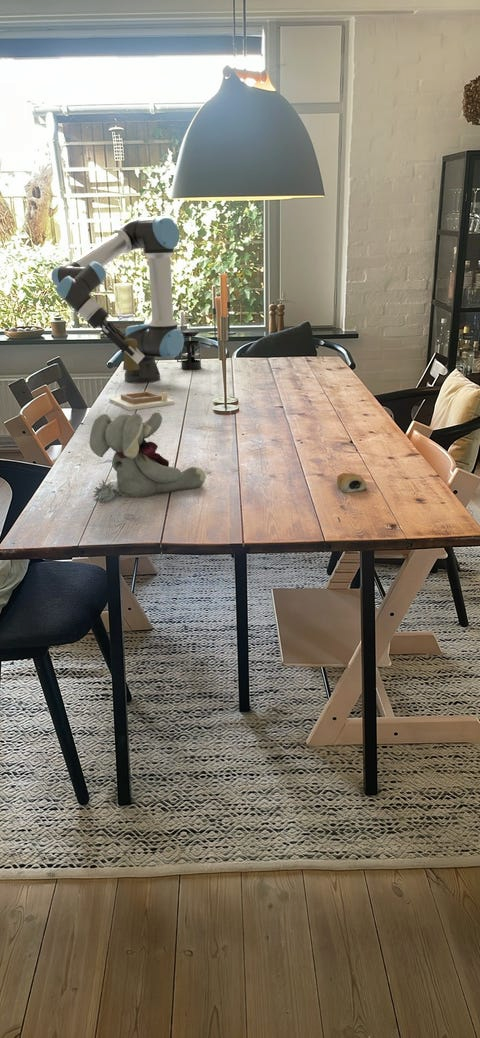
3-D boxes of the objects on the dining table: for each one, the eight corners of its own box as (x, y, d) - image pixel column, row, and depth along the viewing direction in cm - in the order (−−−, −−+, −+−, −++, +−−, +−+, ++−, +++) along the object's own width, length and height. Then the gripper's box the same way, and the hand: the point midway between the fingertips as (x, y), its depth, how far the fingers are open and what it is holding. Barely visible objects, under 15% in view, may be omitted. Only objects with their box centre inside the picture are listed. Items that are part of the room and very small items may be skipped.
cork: (141, 367, 286) (140, 337, 282) (137, 370, 280) (135, 339, 277) (125, 367, 287) (124, 337, 283) (121, 370, 281) (119, 339, 277)
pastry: (331, 482, 193) (331, 467, 192) (356, 480, 194) (357, 466, 193) (342, 494, 184) (342, 478, 183) (369, 492, 185) (369, 477, 184)
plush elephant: (155, 469, 206) (150, 392, 199) (209, 486, 191) (207, 404, 184) (68, 492, 189) (60, 409, 181) (121, 514, 174) (114, 424, 166)
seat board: (153, 395, 296) (152, 385, 295) (174, 404, 282) (173, 392, 280) (109, 401, 288) (108, 390, 286) (129, 410, 273) (128, 398, 272)
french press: (204, 366, 358) (202, 315, 349) (201, 370, 349) (199, 318, 341) (179, 366, 359) (177, 316, 351) (175, 370, 350) (173, 318, 342)
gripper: (91, 319, 286) (137, 363, 292) (81, 324, 269) (130, 371, 275) (104, 304, 284) (151, 349, 290) (95, 308, 267) (145, 356, 273)
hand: (141, 359), depth 282 cm, fingers closed on cork, 5 cm apart
